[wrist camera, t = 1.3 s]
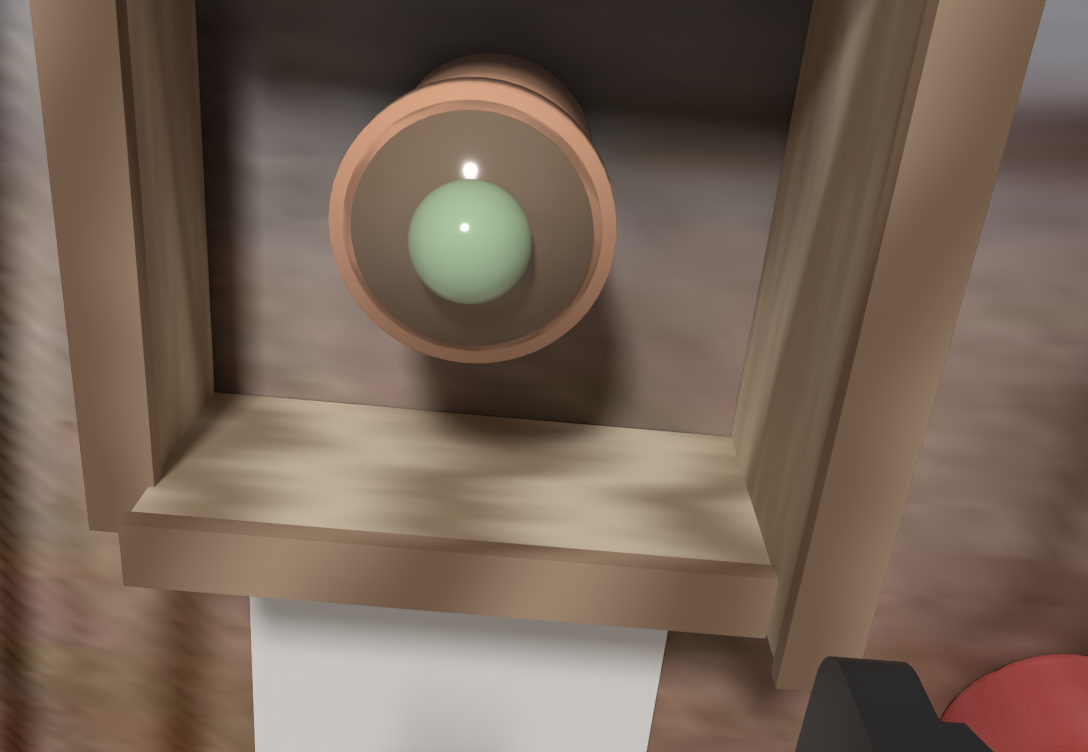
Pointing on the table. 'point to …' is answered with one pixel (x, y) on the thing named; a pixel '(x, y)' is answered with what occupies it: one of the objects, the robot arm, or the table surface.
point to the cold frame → (532, 445)
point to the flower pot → (1029, 705)
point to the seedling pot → (475, 212)
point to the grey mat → (446, 681)
